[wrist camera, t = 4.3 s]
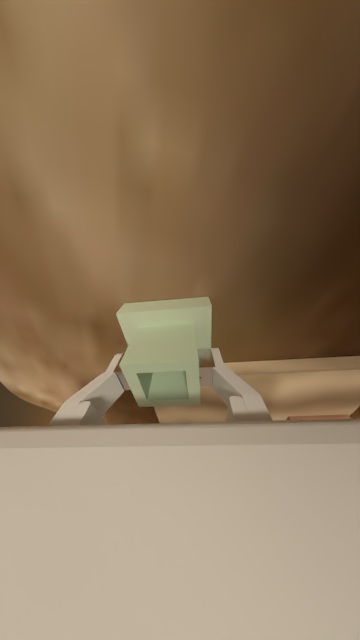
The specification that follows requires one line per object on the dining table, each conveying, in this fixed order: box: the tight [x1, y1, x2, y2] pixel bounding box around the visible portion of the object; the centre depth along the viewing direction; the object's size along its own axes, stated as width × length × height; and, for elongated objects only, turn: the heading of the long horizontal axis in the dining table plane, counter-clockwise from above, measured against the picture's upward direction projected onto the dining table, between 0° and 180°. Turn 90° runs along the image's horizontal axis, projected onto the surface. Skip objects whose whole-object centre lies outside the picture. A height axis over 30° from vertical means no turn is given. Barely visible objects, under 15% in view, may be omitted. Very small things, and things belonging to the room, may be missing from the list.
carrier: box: [154, 356, 360, 423], centre depth 16 cm, size 22×22×7 cm
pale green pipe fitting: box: [116, 297, 212, 407], centre depth 10 cm, size 6×6×5 cm
